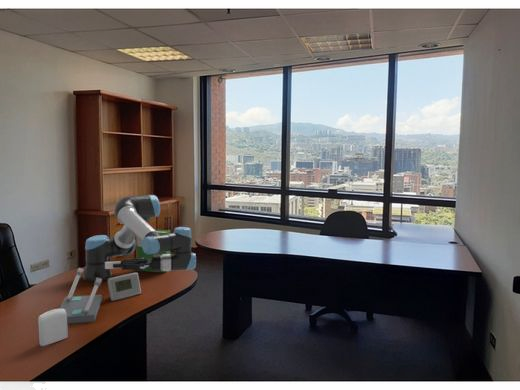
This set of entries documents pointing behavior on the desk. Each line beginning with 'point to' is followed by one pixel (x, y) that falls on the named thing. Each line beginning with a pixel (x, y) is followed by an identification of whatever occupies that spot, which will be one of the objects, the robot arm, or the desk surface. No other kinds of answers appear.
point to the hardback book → (149, 256)
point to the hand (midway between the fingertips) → (105, 265)
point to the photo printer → (52, 326)
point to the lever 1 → (74, 283)
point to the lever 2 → (92, 294)
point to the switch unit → (81, 308)
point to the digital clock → (124, 286)
